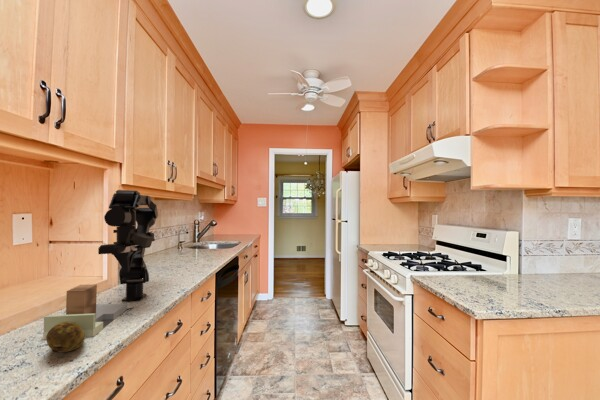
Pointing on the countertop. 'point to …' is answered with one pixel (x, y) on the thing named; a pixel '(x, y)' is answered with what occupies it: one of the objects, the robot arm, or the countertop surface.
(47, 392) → the countertop surface
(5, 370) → the countertop surface
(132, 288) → the robot arm
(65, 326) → the potato
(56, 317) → the trap board
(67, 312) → the walnut block
